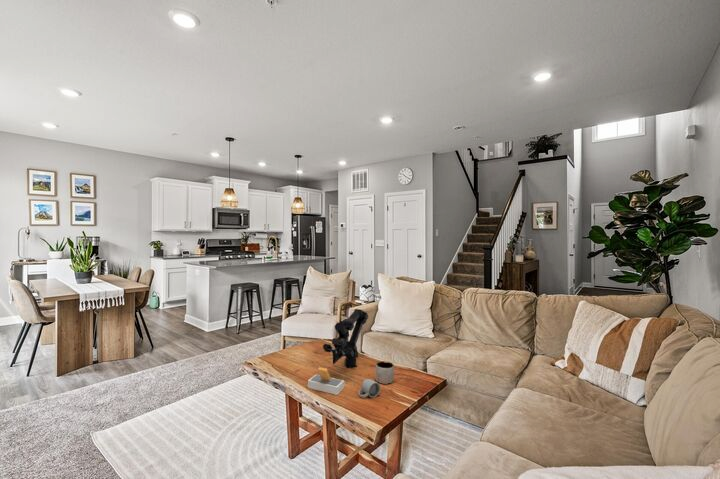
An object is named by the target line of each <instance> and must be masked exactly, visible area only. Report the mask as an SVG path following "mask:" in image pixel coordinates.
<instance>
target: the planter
mask: <svg viewBox="0 0 720 479" xmlns="http://www.w3.org/2000/svg"><path fill="white" fill-rule="evenodd" d="M394 374H395V365H394V363H393V362H390V361H385V360H383V361H378V362H376V363H375V375H374V379H375V382H377V383H378V382H379V383H378V384H380V383H383V384H382V385H389V384H388V383H390V384H392V383H394V380H395V379H394V378H395V377H394Z"/></svg>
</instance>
